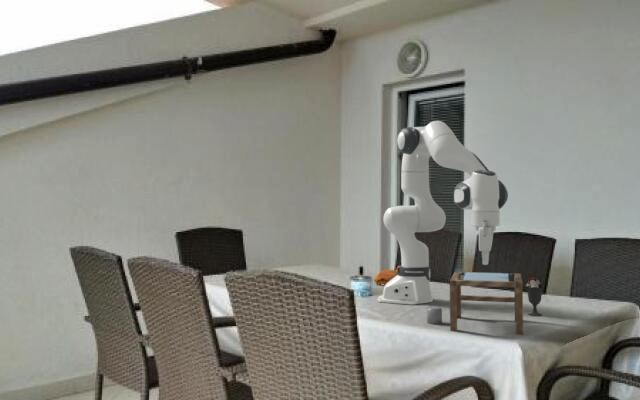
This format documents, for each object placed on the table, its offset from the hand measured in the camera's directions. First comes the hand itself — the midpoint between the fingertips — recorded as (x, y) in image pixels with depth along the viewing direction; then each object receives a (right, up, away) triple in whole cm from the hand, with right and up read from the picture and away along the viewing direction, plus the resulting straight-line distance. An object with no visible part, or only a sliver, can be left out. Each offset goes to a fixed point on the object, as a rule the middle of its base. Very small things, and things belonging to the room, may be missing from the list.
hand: (485, 262), depth 192 cm
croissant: (-20, -21, +97) cm, 101 cm away
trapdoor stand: (+2, -21, +4) cm, 22 cm away
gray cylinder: (-15, -21, +9) cm, 28 cm away
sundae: (+23, -21, +20) cm, 37 cm away
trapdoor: (+2, -7, +5) cm, 9 cm away
